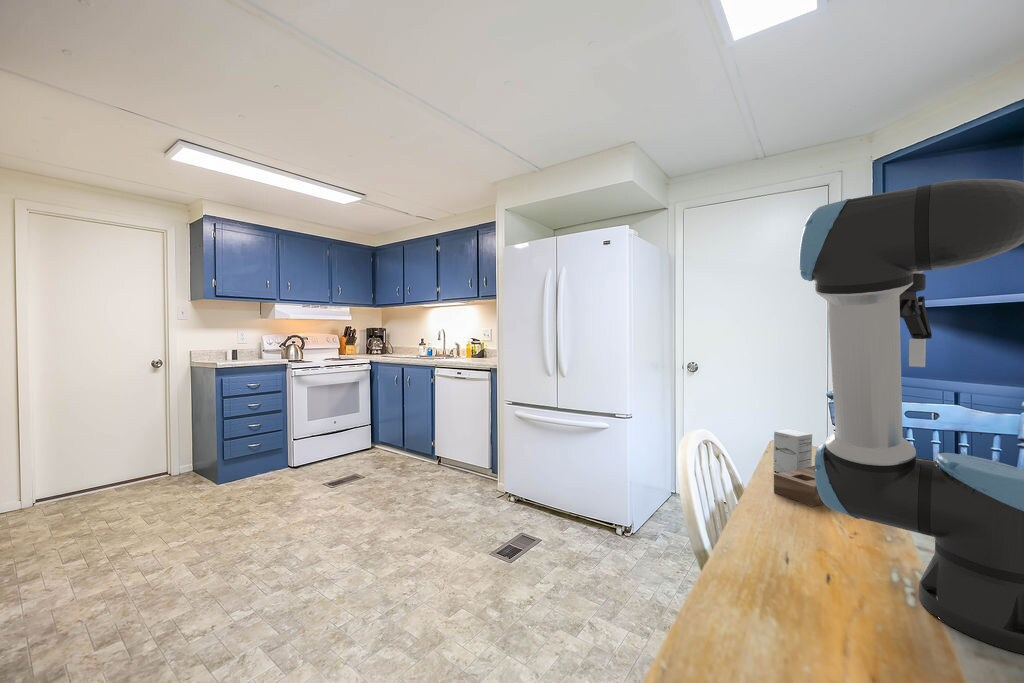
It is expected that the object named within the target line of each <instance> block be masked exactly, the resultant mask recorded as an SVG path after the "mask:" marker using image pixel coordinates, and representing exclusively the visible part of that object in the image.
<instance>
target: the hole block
mask: <svg viewBox="0 0 1024 683" xmlns="http://www.w3.org/2000/svg"><path fill="white" fill-rule="evenodd" d="M774 492H775V493H774ZM773 493H774V494H777V495H779V496H783V497H785V498H788V499H791V500H794V501H796V502H800V503H802V504H805V505H808V506H811V507H813V508H814V507H817V506H821V505H825V504H824V503H823V501H822V500H821V498H820V496H819V493H818V490H817V486H816V481H815V465H811V467H806V468H801V469H796V470H791V471H786V472H781V473H779V472H775V473H773Z"/></svg>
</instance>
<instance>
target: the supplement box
mask: <svg viewBox="0 0 1024 683" xmlns="http://www.w3.org/2000/svg"><path fill="white" fill-rule="evenodd" d="M812 452H813V434H812V433H807V432H803V431H799V430H794V429H789V428H787V429H780V430H774V433H773V469H772V470H773V472H774V471H776V472H775V473H781V472H786V471H791V470H796V469H801V468H806V467H811V466H813V465H812V464H813V463H812V461H813V460H812V458H813V457H812V455H813V453H812Z"/></svg>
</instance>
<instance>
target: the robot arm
mask: <svg viewBox="0 0 1024 683" xmlns="http://www.w3.org/2000/svg"><path fill="white" fill-rule="evenodd" d="M1023 244H1024V181H1020V180H1015V179H1005V178H966V179H965V178H963V179H953V180H944V181H940V182H934V183H930V184H925V185H921V186H920V185H919V186H915V187H909V188H908V187H907V188H902V189H899V190H897V189H896V190H893V191H887V192H881V193H876V194H871V195H870V194H869V195H865V196H859V197H855V198H854V197H853V198H846V199H844V200H839V201H835V202H832V203H828V204H825V205H821V206H819V207H817V208H816V209H814V210H812V212H811V213H810V214H809V216H808V217H807V219H806V222H805V225H804V228H803V231H802V234H801V240H800V246H799V256H798V257H799V259H798V262H799V264H798V266H799V271H800V276H801V278H802V280H804V281H808V282H814V290H815V294H817V295H819V296H820V297H821V298H823V299H824V300H825V301H826V302H827V313H828V330H829V331H828V332H829V345H830V347H829V348H830V363H831V365H830V366H831V376H832V377H831V378H832V380H831V381H832V394H833V396H832V397H833V408H834V409H833V411H834V412H833V413H834V426H835V427H834V428H835V431H834V432H833V433H831V434H829V435H828V436H827V437H826V438H825V443H822V444H820V445H819V446H818V447H817V449H816V451H815V456H814V466H815V481H816V486H817V490H818V493H819V496H820V498H821V500H822V501H823V503H824V504H823V505H824V506H826V507H827V508H829V509H830V510H831V511H834V512H837V513H840V514H844V515H847V516H850V517H851V518H852V519H853V518H854V519H858V520H859V519H862V520H866V521H868V522H873V523H877V524H881V525H885V526H889V527H893V528H897V529H901V530H905V531H910V532H913V533H917V534H921V535H925V536H928V537H932V538H934V554H933V556H932V558H931V560H930V561H929V563H928V565H927V567H926V569H925V571H924V572H923V574H922V576H921V578H920V580H919V583H918V600H919V602H920V605H922V606H923V607H924V608H925V609H926V611H928V612H929V611H930V612H931V613H932V614H931V613H930V612H929V613H930V614H931V615H933V614H934V615H935V616H937V617H939V618H940V619H941V620H942V622H943V621H944V622H945V623H944V622H943V623H944V624H946V625H947V626H949V627H951V628H953V629H954V630H957V631H959V632H961V633H963V634H965V635H967V636H969V637H972V638H974V639H976V640H978V641H982V642H984V643H986V644H989V645H992V646H995V647H998V648H1000V649H1004V650H1007V651H1010V652H1015V653H1018V654H1022V655H1024V469H1022V468H1019V467H1016V466H1014V465H1010V464H1006V463H1005V462H1004V463H1002V462H999V461H996V460H991V459H988V458H984V457H978V456H973V455H969V454H963V453H961V454H960V453H959V454H958V453H952V452H941V453H938V454H937V456H936V457H935V458H934V460H933V461H932V460H927V459H922V458H917V448H915V445H913V444H912V443H911V442H910V441H908V440H907V439H905V438H904V436H903V435H904V434H903V431H904V430H903V401H902V400H903V397H902V396H903V395H902V394H903V393H902V360H901V359H902V356H901V352H902V351H901V350H902V349H901V348H902V346H901V318H902V319H903V321H904V322H905V324H906V328H907V329H908V332H909V334H910V336H911V338H909V340H908V344H909V345H908V367H913V368H914V367H915V368H918V367H919V368H926V354H927V350H926V349H927V348H926V347H927V345H926V344H927V343H926V342H927V340H929V339H930V340H931V339H932V337H933V335H932V329H931V325H930V321H929V316H928V312H927V308H926V298H925V296H924V295H921V296H920V295H918V296H917V292H922V291H924V290H926V286H927V284H926V283H927V282H926V281H927V277H926V276H927V275H926V274H925V273H924V272H925V271H932V270H933V271H934V270H943V269H951V268H956V267H961V266H966V265H969V264H973V263H977V262H980V261H984V260H986V259H989V258H992V257H995V256H999V255H1001V254H1004V253H1006V252H1008V251H1011V250H1013V249H1015V248H1017V247H1019V246H1021V245H1023ZM934 615H933V616H934ZM935 616H934V617H935ZM937 617H936V618H937ZM940 619H939V620H940ZM941 620H940V621H941Z"/></svg>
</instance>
